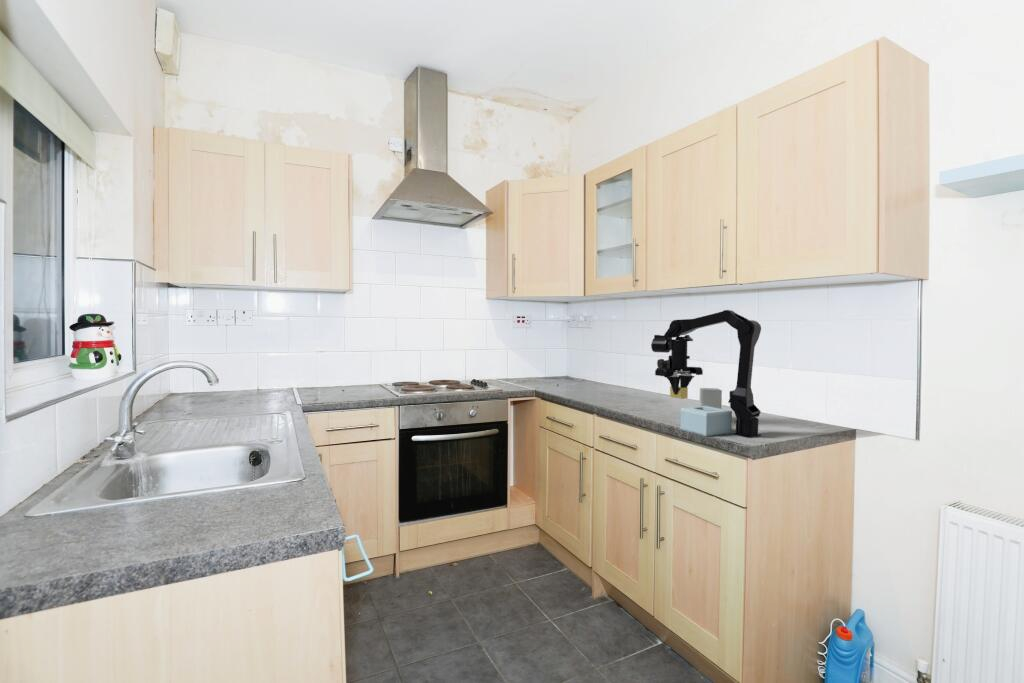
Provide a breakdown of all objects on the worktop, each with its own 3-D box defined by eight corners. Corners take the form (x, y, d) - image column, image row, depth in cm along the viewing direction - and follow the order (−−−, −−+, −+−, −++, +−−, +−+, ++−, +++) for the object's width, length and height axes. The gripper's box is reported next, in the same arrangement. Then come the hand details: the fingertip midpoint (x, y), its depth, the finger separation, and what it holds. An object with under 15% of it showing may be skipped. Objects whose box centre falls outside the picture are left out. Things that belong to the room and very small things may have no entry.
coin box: (731, 433, 178) (731, 410, 178) (706, 436, 173) (706, 413, 173) (705, 427, 189) (705, 405, 189) (680, 429, 184) (680, 407, 184)
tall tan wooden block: (676, 396, 196) (676, 386, 196) (687, 398, 191) (687, 387, 191) (670, 396, 195) (670, 386, 195) (681, 398, 190) (681, 387, 190)
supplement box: (721, 422, 199) (722, 390, 199) (701, 421, 201) (702, 389, 200) (717, 419, 206) (718, 388, 206) (698, 418, 208) (699, 387, 208)
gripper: (682, 351, 204) (682, 390, 204) (645, 352, 196) (645, 393, 196) (703, 353, 194) (703, 393, 194) (665, 353, 186) (665, 396, 186)
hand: (678, 394), depth 193 cm, fingers closed on tall tan wooden block, 3 cm apart
